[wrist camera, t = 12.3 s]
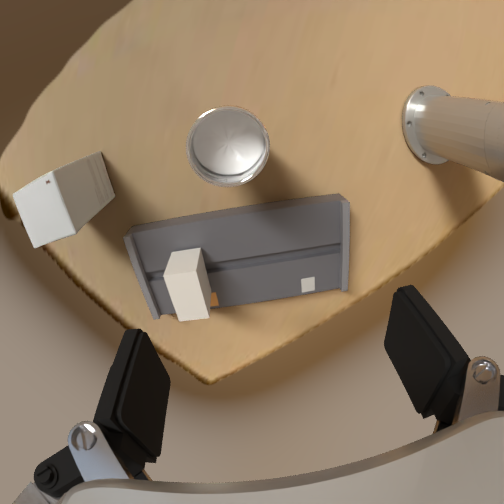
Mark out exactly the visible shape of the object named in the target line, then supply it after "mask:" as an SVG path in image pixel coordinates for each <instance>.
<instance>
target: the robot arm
mask: <svg viewBox="0 0 504 504" xmlns="http://www.w3.org/2000/svg"><path fill="white" fill-rule="evenodd" d="M402 127H403V133H404V136H405V139H406V142H407V144H408V146H409V148H410V149H411V151H412V152H413V153H414V154H415V155H416V156H417V157H418V158H419V159H421V160H422V161H425V162H427V163H430V164H442V163H445V162H447V161H449V160H450V161H453V162H456V163H458V164H461V165H464V166H466V167H469V168H471V169H474V170H476V171H479V172H481V173H484V174H486V175H488V176H491V177H493V178H495V179H498V180H500V181H502V182H504V102H498V101H491V100H484V99H475V98H465V97H453V96H450V94H448V93H447V92H446V91H445V90H443V89H441V88H439V87H436V86H422V87H419V88H417V89H416V90H414V91H413V92H412V93H411V94H410V95H409V96H408V98H407V100H406V102H405V105H404V108H403V114H402ZM384 346H385V350H386V352H387V354H388V356H389V358H390V359H391V361H392V363H393V365H394V367H395V369H396V371H397V373H398V375H399V376H400V379H401V381H402V383H403V385H404V387H405V389H406V391H407V393H408V395H409V397H410V399H411V401H412V403H413V405H414V407H415V410H416V411H417V412H418V413H419V414H420V413H421V414H422V416H423V419H424V418H427V417H429V416H431V415H435V417H436V419H437V421H436V425H435V428H434V431H433V434H432V435H429V436H427V437H425V438H422V439H420V440H418V441H415V442H413V443H410V444H407V445H405V446H402V447H400V448H397V449H394V450H392V451H389V452H386V453H383V454H380V455H377V456H374V457H370V458H367V459H364V460H361V461H357V462H353V463H350V464H346V465H342V466H338V467H334V468H330V469H325V470H321V471H316V472H311V473H306V474H300V475H295V476H288V477H282V478H273V479H265V480H256V481H243V482H225V483H181V482H161V481H152V479H151V478H150V477H149V475H148V474H147V473H146V471H145V470H144V467H145V462H149V463H156V459H157V457H159V456H160V454H161V448H162V440H163V432H164V424H165V416H166V410H167V403H168V396H169V390H170V377H169V375H168V373H167V371H166V369H165V368H164V366H163V364H162V362H161V360H160V358H159V356H158V354H157V352H156V350H155V348H154V346H153V344H152V342H151V340H150V338H149V336H148V334H147V333H146V332H143V331H142V330H141V329H130V330H126V331H125V333H124V335H123V338H122V340H121V343H120V346H119V348H118V351H117V354H116V357H115V359H114V362H113V365H112V366H111V368H110V371H109V373H108V376H107V379H106V382H105V385H104V388H103V391H102V394H101V397H100V400H99V403H98V406H97V410H96V413H95V416H94V420H93V422H90V421H82V422H80V423H77V424H76V425H75V426H74V427H73V428H72V429H71V430H70V432H69V435H68V446H66V447H65V448H64V449H62V450H60V451H59V452H57V453H56V454H54V455H52V456H51V457H49V458H48V459H46V460H45V461H43V462H41V463H40V464H39V465H38V466H37V467H36V469H35V472H34V481H35V482H34V483H32V482H30V483H29V484H28V485H27V487H26V488H25V489H24V490H23V491H22V493H21V494H20V495H19V496H18V498H17V499H16V500H15V501H14V502H13V503H12V504H504V375H500V369H499V367H498V365H497V364H496V363H495V361H493V360H492V359H490V358H488V357H485V356H479V357H475V358H474V359H473V360H470V358H469V357H468V355H467V354H466V352H465V351H464V349H463V348H462V347H461V345H460V344H459V342H458V341H457V340H456V339H455V337H454V336H453V335H452V333H451V332H450V331H449V329H448V328H447V326H446V325H445V324H444V323H443V321H442V320H441V319H440V317H439V316H438V315H437V314H436V312H435V311H434V310H433V309H432V307H431V306H430V305H429V304H428V303H427V301H426V300H425V299H424V298H423V296H422V295H421V294H420V293H419V292H418V290H417V289H416V288H415V287H414V286H413V285H408V286H404V287H400V288H398V289H397V292H395V293H394V295H393V300H392V306H391V311H390V317H389V321H388V326H387V331H386V336H385V340H384Z"/></svg>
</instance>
